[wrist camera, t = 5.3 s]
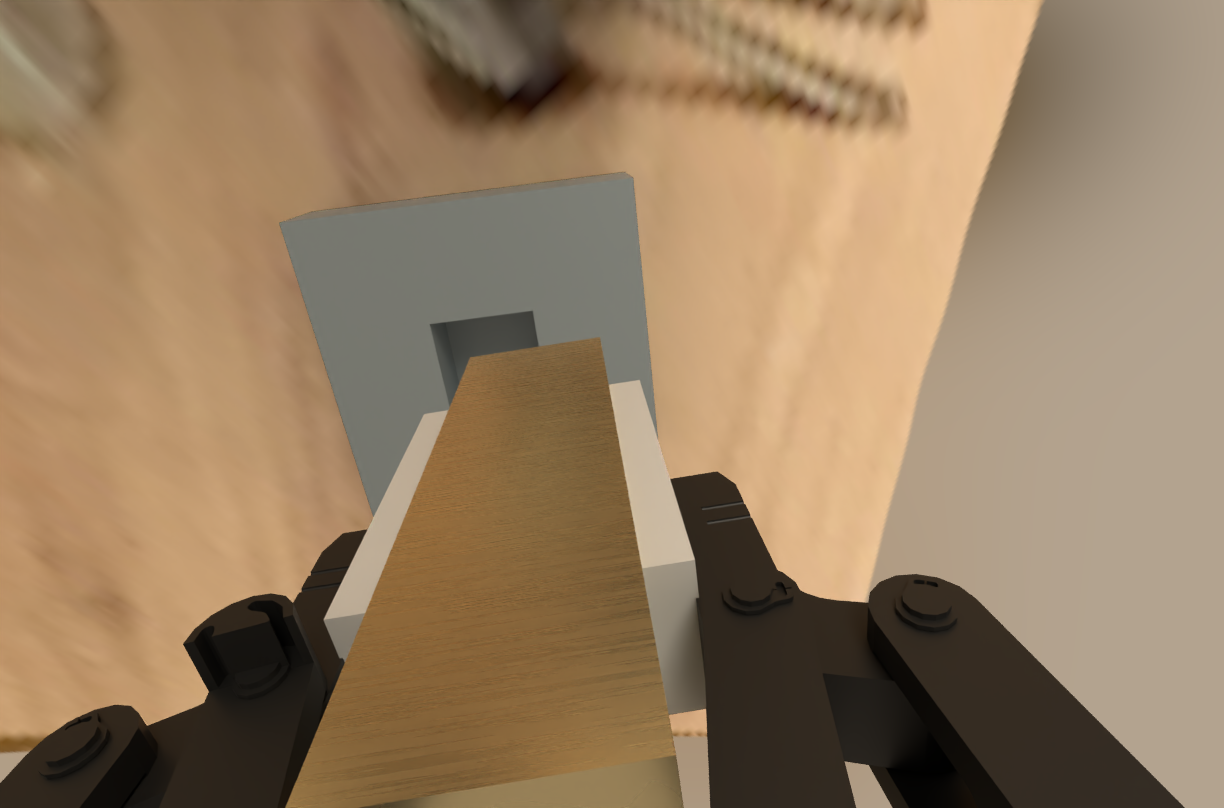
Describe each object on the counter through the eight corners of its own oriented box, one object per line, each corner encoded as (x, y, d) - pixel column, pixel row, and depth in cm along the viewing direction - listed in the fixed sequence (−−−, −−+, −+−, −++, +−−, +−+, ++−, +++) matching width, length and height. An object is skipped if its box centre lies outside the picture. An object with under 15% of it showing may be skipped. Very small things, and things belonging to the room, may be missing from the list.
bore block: (311, 211, 28) (279, 222, 25) (624, 171, 28) (633, 177, 25) (392, 482, 34) (374, 520, 30) (652, 447, 34) (661, 480, 31)
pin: (470, 357, 16) (279, 821, 5) (600, 336, 16) (675, 754, 5) (498, 470, 18) (391, 1024, 7) (618, 452, 18) (707, 973, 7)
